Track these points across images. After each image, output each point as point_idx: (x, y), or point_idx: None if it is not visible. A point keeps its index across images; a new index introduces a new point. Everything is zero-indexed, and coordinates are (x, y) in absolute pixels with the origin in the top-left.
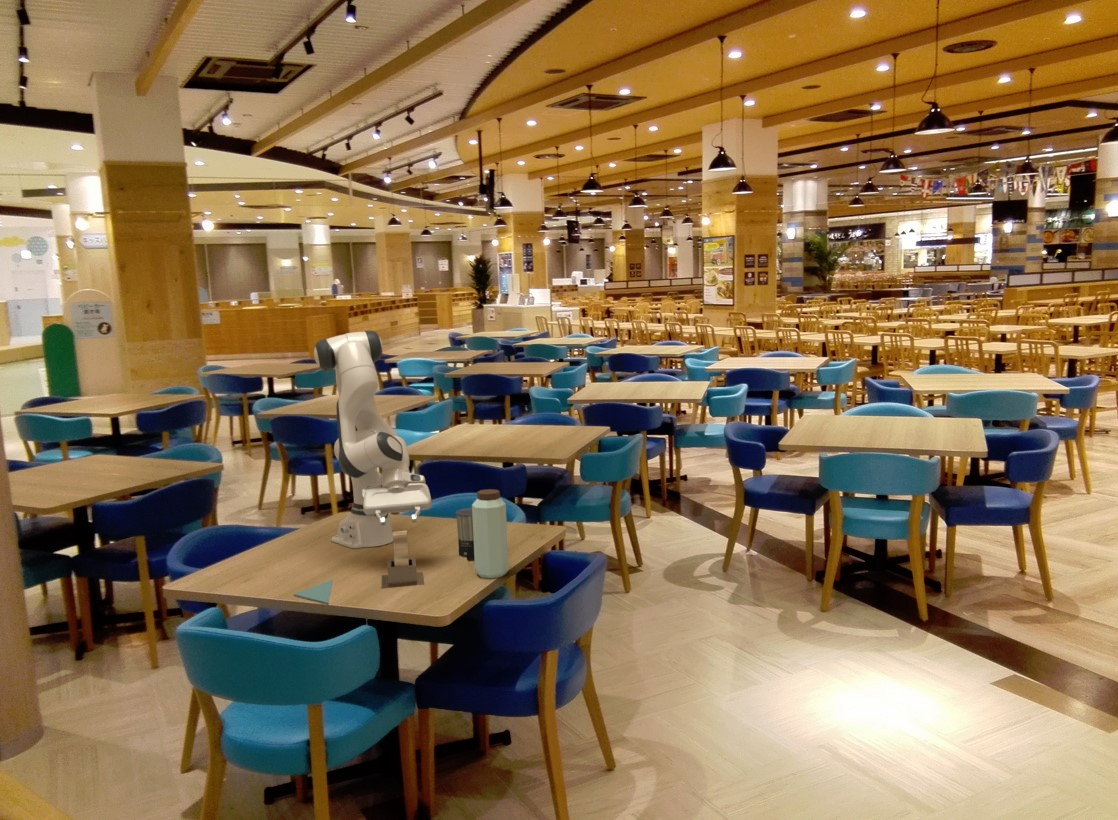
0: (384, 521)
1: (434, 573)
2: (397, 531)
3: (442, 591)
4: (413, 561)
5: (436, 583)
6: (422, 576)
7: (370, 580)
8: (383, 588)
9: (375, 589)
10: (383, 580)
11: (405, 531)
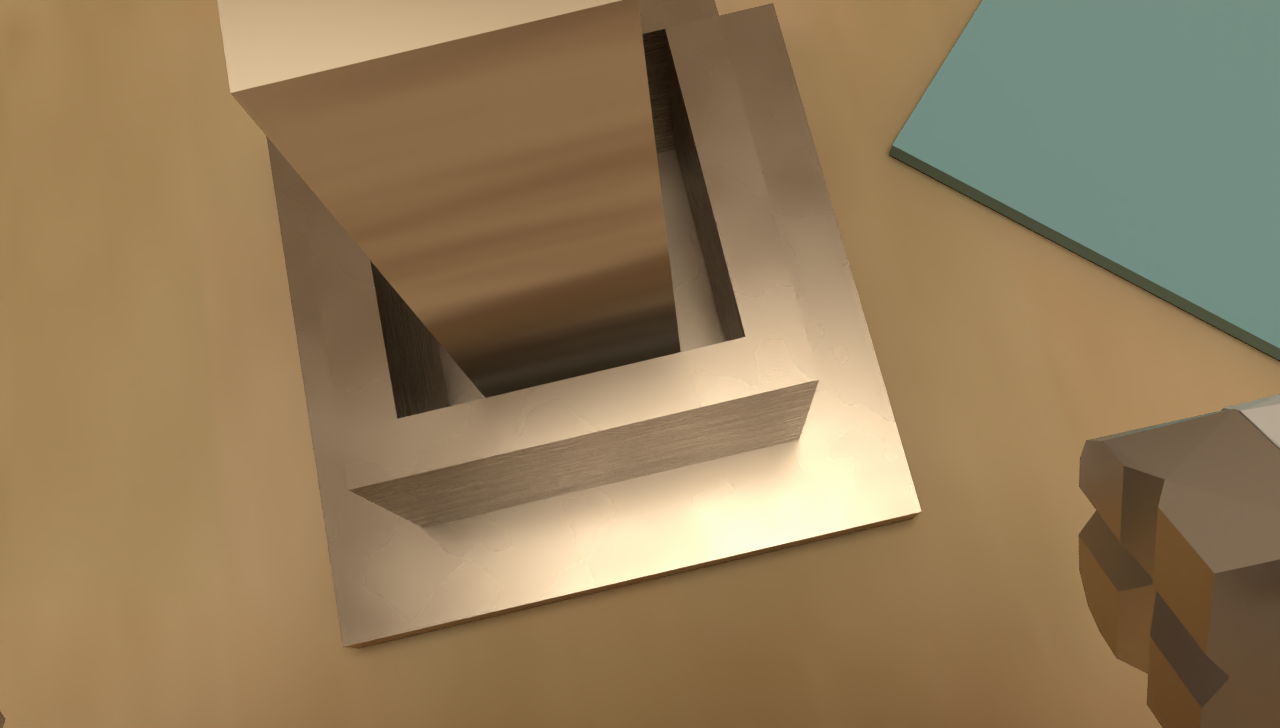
0: (1119, 444)
1: (201, 704)
2: (496, 22)
3: (68, 28)
4: (351, 294)
5: (149, 292)
6: (320, 425)
7: (1058, 455)
8: (749, 11)
9: (874, 114)
10: (830, 290)
11: (255, 11)
